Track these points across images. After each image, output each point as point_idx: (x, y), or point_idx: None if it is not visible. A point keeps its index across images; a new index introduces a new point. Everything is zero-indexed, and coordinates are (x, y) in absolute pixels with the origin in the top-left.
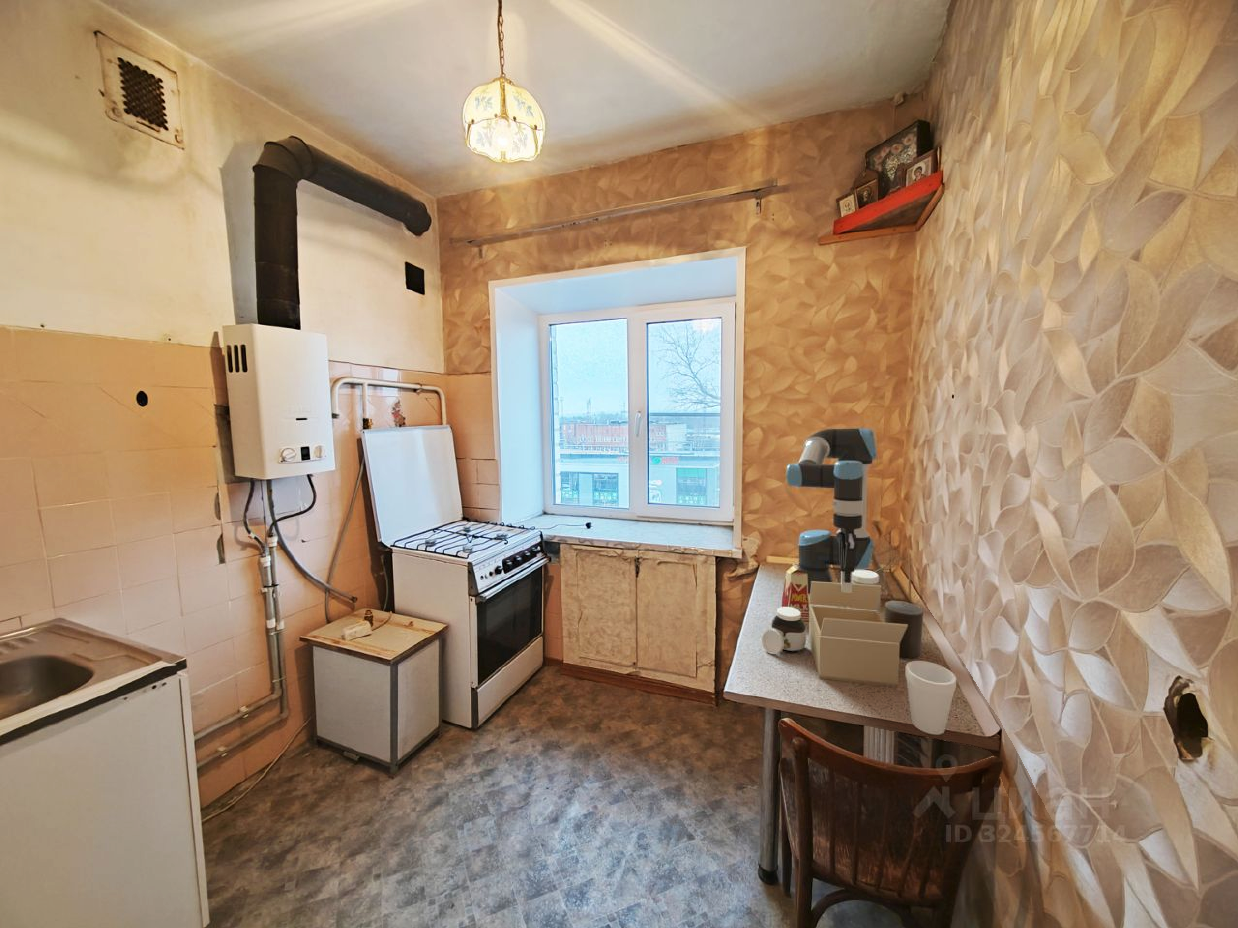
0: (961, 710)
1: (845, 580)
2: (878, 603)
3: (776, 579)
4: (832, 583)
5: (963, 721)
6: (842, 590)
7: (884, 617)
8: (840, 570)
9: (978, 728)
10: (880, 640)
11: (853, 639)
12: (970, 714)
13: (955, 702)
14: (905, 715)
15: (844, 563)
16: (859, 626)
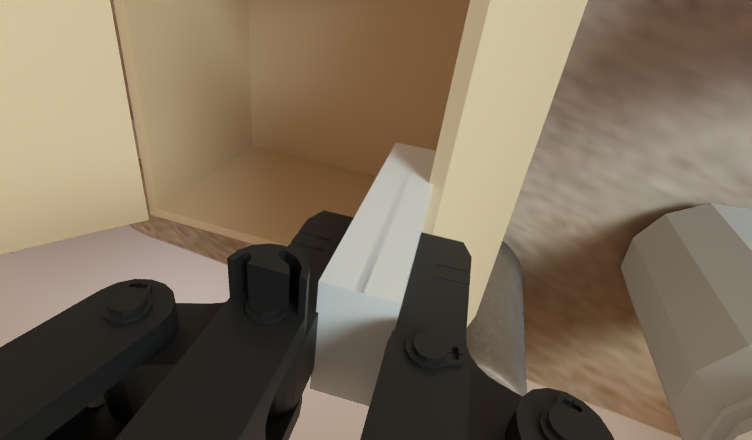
0: (192, 238)
1: (304, 224)
2: (659, 377)
3: None
4: (452, 86)
5: (154, 217)
6: (389, 155)
7: (478, 311)
8: (264, 251)
9: (142, 230)
10: (125, 148)
11: (121, 24)
12: (184, 246)
13: (219, 245)
14: (129, 98)
15: (146, 420)
16: None
